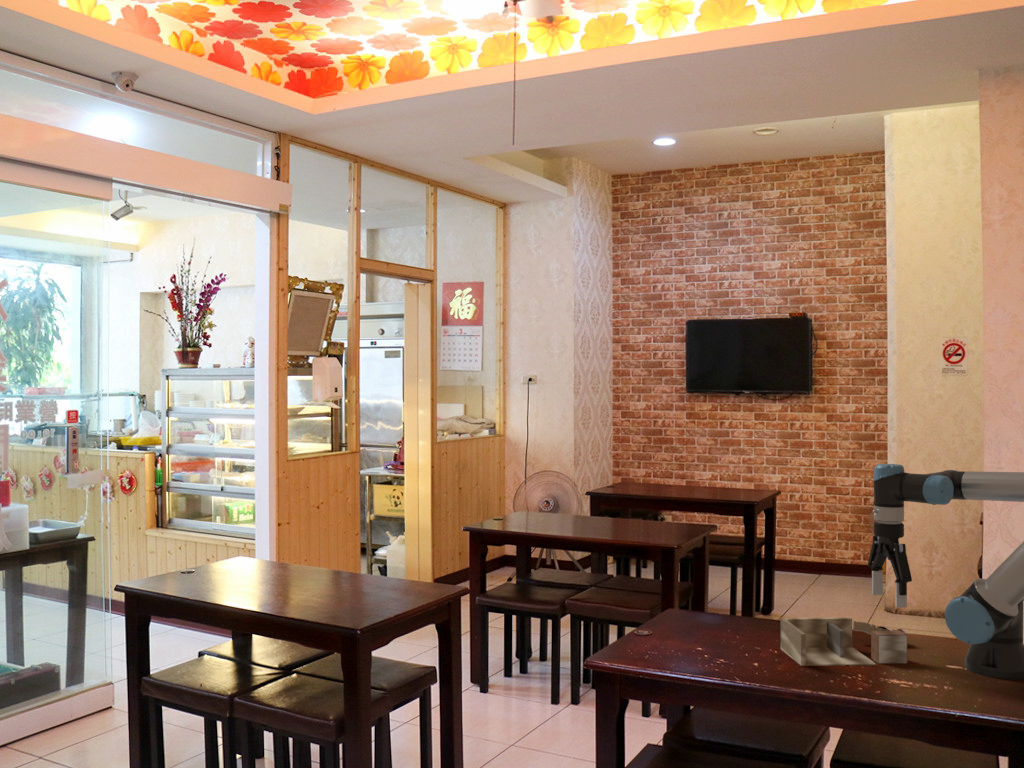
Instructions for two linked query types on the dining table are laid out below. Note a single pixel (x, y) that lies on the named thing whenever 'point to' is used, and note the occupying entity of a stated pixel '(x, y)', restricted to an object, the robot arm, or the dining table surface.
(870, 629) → the toy figure
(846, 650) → the shelf
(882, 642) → the tall mauve wooden block
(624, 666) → the dining table surface
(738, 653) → the dining table surface
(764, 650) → the dining table surface
